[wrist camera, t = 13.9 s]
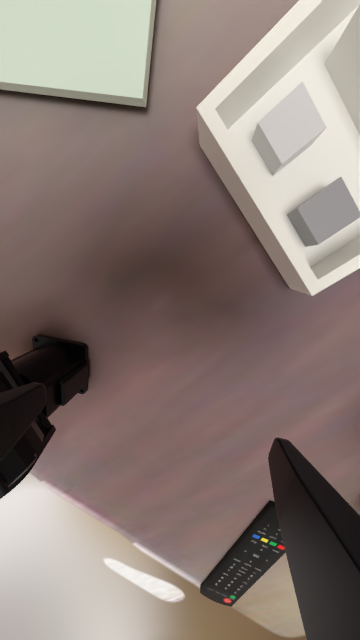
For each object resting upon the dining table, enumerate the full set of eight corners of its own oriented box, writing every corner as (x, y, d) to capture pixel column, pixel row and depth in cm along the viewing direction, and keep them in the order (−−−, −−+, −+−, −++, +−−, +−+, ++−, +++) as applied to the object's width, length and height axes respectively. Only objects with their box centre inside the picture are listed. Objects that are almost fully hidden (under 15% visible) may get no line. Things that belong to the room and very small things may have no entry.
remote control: (307, 512, 25) (312, 525, 24) (228, 594, 33) (229, 608, 32) (268, 495, 25) (271, 508, 24) (199, 581, 33) (199, 594, 32)
